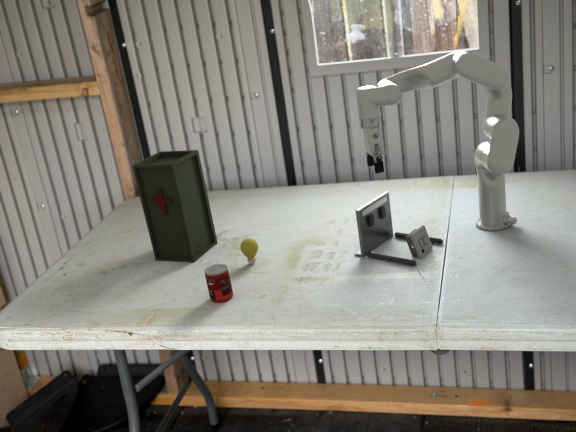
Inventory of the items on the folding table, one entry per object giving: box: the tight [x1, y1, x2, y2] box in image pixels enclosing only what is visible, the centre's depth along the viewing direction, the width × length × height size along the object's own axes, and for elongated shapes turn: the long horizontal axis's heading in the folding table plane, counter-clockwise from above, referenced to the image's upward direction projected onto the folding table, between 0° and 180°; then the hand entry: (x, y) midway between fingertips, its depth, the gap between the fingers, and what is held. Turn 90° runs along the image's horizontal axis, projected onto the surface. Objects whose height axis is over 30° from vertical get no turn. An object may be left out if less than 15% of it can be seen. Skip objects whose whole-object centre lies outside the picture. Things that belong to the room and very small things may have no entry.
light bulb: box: [239, 237, 259, 266], centre depth 245 cm, size 7×7×10 cm
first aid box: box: [131, 149, 218, 263], centre depth 261 cm, size 18×18×40 cm
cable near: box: [365, 252, 417, 267], centre depth 230 cm, size 20×2×2 cm, turn 49°
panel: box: [354, 190, 394, 258], centre depth 242 cm, size 5×20×18 cm, turn 139°
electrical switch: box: [404, 225, 433, 259], centre depth 232 cm, size 9×5×9 cm, turn 141°
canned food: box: [203, 263, 234, 304], centre depth 222 cm, size 8×8×11 cm
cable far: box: [393, 231, 444, 245], centre depth 243 cm, size 20×2×2 cm, turn 49°
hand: (375, 169), depth 235 cm, fingers open, 9 cm apart
